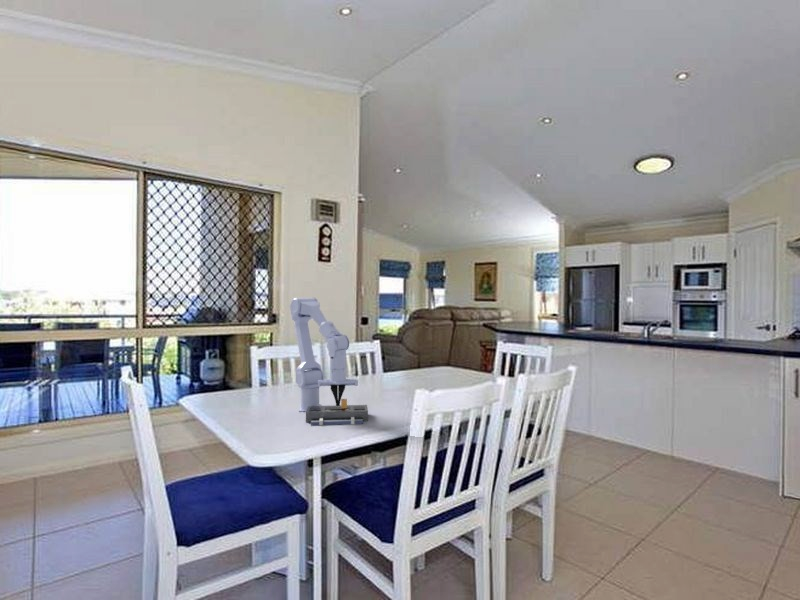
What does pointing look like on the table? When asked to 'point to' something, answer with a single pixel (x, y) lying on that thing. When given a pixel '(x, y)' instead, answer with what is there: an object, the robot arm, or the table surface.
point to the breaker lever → (343, 403)
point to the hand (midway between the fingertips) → (337, 405)
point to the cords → (336, 421)
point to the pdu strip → (337, 412)
